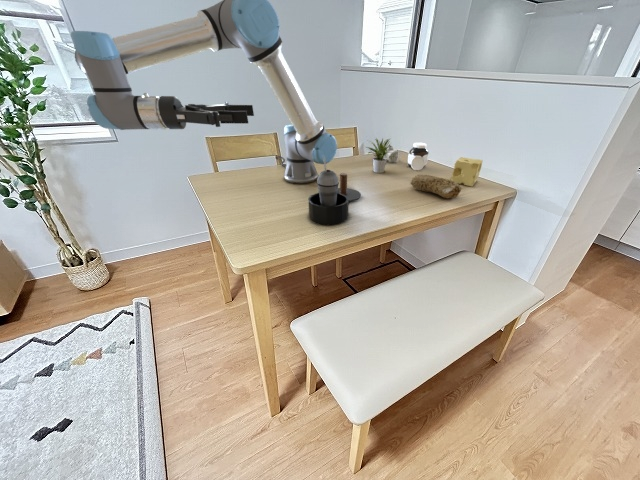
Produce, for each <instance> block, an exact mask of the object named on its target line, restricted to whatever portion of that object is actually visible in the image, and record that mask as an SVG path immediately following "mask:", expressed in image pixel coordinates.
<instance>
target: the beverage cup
mask: <svg viewBox="0 0 640 480" xmlns="http://www.w3.org/2000/svg"><path fill="white" fill-rule="evenodd" d="M323 160H324V164H323V166H324V170H322V171H321V172H319V173H318V179H317V180H316V185H317V190H318V193H319V196H320V204H321V206H336V201H337V190H338V188H339V187H340V179H339V177H338V175H337V173H336V172H335V171H333V170H331V169H327V164H326V163H325V156H324V155H323Z"/></svg>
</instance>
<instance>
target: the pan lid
mask: <svg viewBox="0 0 640 480" xmlns="http://www.w3.org/2000/svg"><path fill="white" fill-rule="evenodd" d="M337 193H341V194H344V195H345V196H347V197H348V199H349V203H350V202H354V201H355V202H356V201H357V200H359V199H360V198H361V196H362V194H361V192H360V191H359V190H357V189H355V188H350V187H348V174H347V173H346V172H342V173H341V172H340V174H339V187H338V190H337Z"/></svg>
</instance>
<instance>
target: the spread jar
mask: <svg viewBox="0 0 640 480" xmlns="http://www.w3.org/2000/svg"><path fill="white" fill-rule="evenodd" d="M412 145H413V146H412V147H411V148H410V149H409V150H408V151H409V152H408V156H407V164H408V166H409V167H410V168H412V170H414V171H421V170H423V168H425V167H426V165H427V164H428V160H429V150H428V149H427V146H428V144H427V143H425V142H413V144H412Z"/></svg>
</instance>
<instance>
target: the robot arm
mask: <svg viewBox="0 0 640 480" xmlns="http://www.w3.org/2000/svg"><path fill="white" fill-rule="evenodd" d="M280 25H281V24H280V19H279V16H278V14H277V12H276V9H275V8H274V6H273V5H272V3H271V2H270V1H269V0H221V1H218V2H217V3H215V4H214V5H212V6H209V7H207V8H203V9H201V10H198V11H197V12H196V15H195V16H193V17H189V18H185V19H181V20H178V21H173V22H169V23H166V24H162V25H157V26H154V27H150V28H146V29H142V30H138V31H134V32H130V33H126V34H122V35H119V36H115V37H112V36H111V35H110V34H108V33H106V32H100V31H91V30H90V31H88V30H73V31H71V32H70V38H71V40H72V44H73V48H74V50H75V51H74V60H75V62H76V64H77V67H78V69H79V70H80V71H81V72H83V74H84V75H86V76H87V78H88V80H89V83H90V85H91V87H92V90H93V93H94V94H91V95H89V96H88V97H87V99H86V105H87V110H88V113H89V115H90V117H91V118H92V120H93V121H94V123H96V125H98V126H99V127H101V128H103V129H106V130H107V129H108V130H120V131H126V130H127V131H128V130H130V131H131V130H152V131H153V130H155V131H158V130H159V131H160V130H161V131H163V130H164V131H165V130H168V129H169V130H184V129H185V128H186V127H187V124H200V125H209V126H215V127H216V128H220V127H221V124H249V117H254V116H255V112H254V105H253V104H229V101H224V103H221V104H220V103H218V104H202V103H201V104H195V103H187V104H184V106H183V104H182V102H181V100H180V99H179V98H178V97H177V96H174V95H171V96H170V95H161V96H158V95H151V96H149V94H148V93H147V92H143V95H134V93H133V89H132V87H131V85H130V82H129V79H128V76H127V75H128V74H132V73H135V72H138V71H141V70H145V69H148V68H151V67H154V66H158V65H163V64H165V63H167V62H172V61H174V60H179V59H182V58H185V57H188V56H191V55H195V54H197V53H201V52H204V51H209V50H212V51H213V52H219V51H223V50H229V49H230V50H231V49H242V51H243V53H244V55H245V57H246V59H248V61H249V63H250V64H253V65H255V66H257V67H258V69H259V70H260V72H261V74H262V75H263V77H264V79H265V80H266V82H267V84H268V85H269V87H270V89H271V91H272V92H273V94H274V96H275V97H276V99H277V101H278V103H279V104H280V106H281V108H282V109H283V112H284V113H285V114H286V116H287V118H288V119H289V121H290V123H291V124H286V125H285V126H284V127H283V137H284V145H285V155H286V159H285V158H284V157H283V156H281V155H276V156H275V159H281V160H282V161H281V163H280V165H281V166H283V167H284V168H285V171H284V175H283V176H284V180H285V182H287V183H289V184H295V185H296V184H297V185H300V184H302V185H303V184H310V183H311V184H312V183H314V182H317V179H318V176H319V173H318V171H317V167H316V166H315V164H319V165H324V160H323V155H324V156H325V163H326V165H327V164H329V163H331V162H332V160H333V159H334V158H335V156H336V155H337V154H336V153H337V150H338V142H337V139H336V137H335V136H334V135H333V134H331V133H329V132H327V130H326V128H325V126H324V124H323V122H322V121H321V120H318V119H316V117H315V115H314V113H313V112H312V109H311V107H310V105H309V103H308V101H307V99H306V97H305V95H304V93H303V91H302V89H301V87H300V85H299V83H298V81H297V79H296V77H295V75H294V74H293V73H294V72H293V71H292V69H291V67H290V66H289V63H288V61H287V59H286V57H285V55H284V52H283V51H282V48H283V40H282V38H281V36H280ZM285 162H286V164H284V163H285ZM314 163H315V164H314Z"/></svg>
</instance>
